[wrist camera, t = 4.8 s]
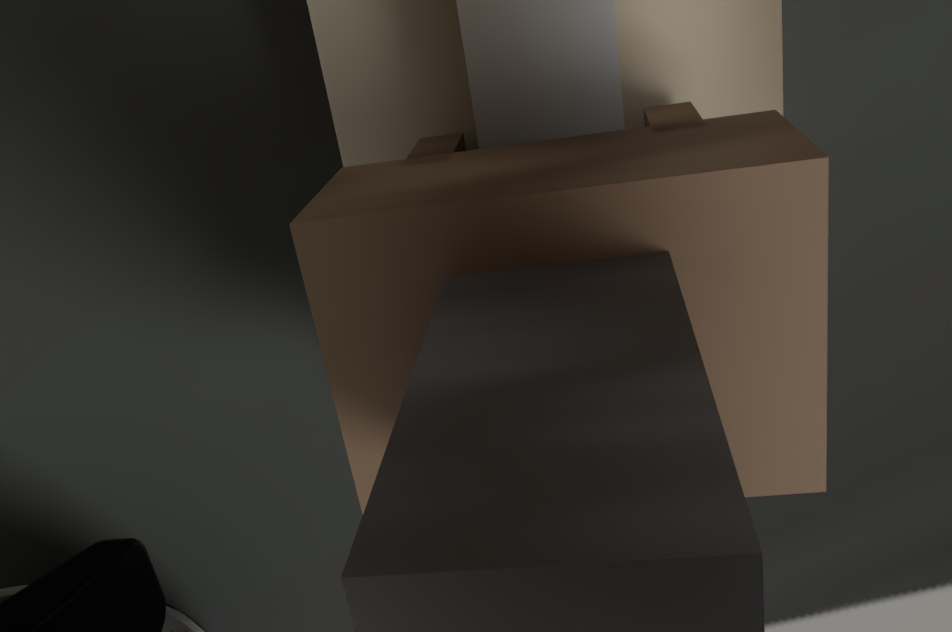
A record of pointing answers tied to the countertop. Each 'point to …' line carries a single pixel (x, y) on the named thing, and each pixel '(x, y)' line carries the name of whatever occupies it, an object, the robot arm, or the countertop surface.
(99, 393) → the countertop surface
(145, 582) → the robot arm
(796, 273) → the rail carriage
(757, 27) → the rail track
